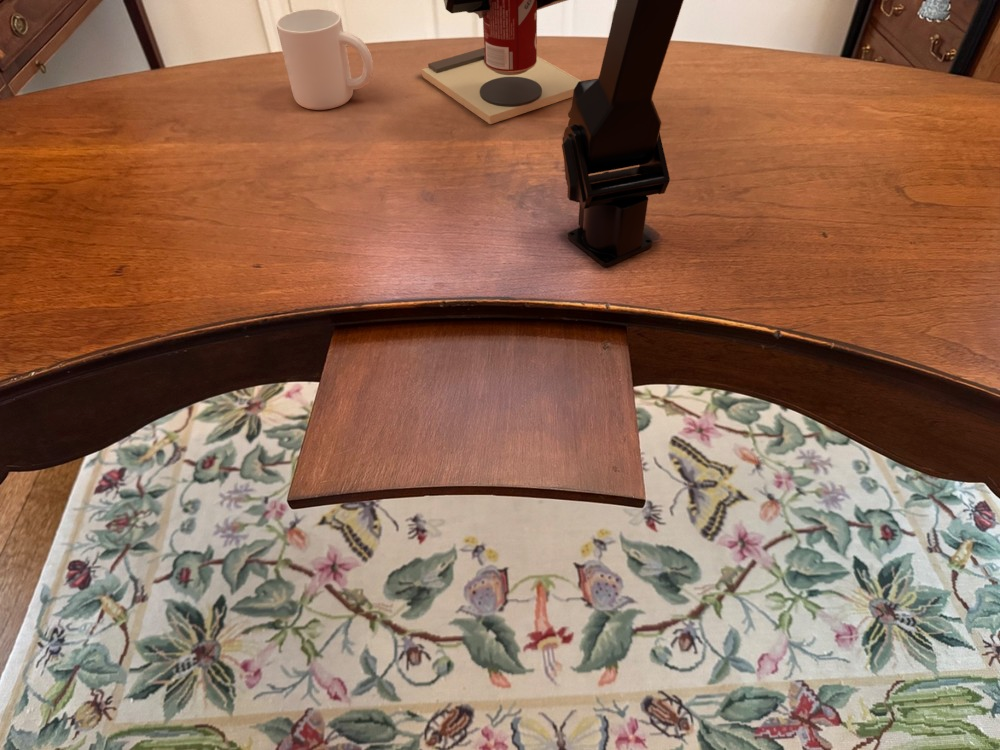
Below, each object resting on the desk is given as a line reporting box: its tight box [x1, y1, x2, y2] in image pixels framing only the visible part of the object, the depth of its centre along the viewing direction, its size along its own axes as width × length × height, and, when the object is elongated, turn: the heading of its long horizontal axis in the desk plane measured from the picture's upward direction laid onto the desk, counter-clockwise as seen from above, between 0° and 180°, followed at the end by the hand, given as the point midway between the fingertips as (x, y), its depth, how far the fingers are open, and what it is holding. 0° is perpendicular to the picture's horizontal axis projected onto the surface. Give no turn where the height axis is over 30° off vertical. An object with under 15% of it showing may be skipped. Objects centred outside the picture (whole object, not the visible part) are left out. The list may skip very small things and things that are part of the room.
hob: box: [421, 47, 582, 125], centre depth 100 cm, size 18×16×2 cm
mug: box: [275, 8, 374, 111], centre depth 95 cm, size 12×8×10 cm
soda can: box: [482, 0, 538, 75], centre depth 89 cm, size 7×7×12 cm
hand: (506, 10), depth 90 cm, fingers closed on soda can, 7 cm apart
